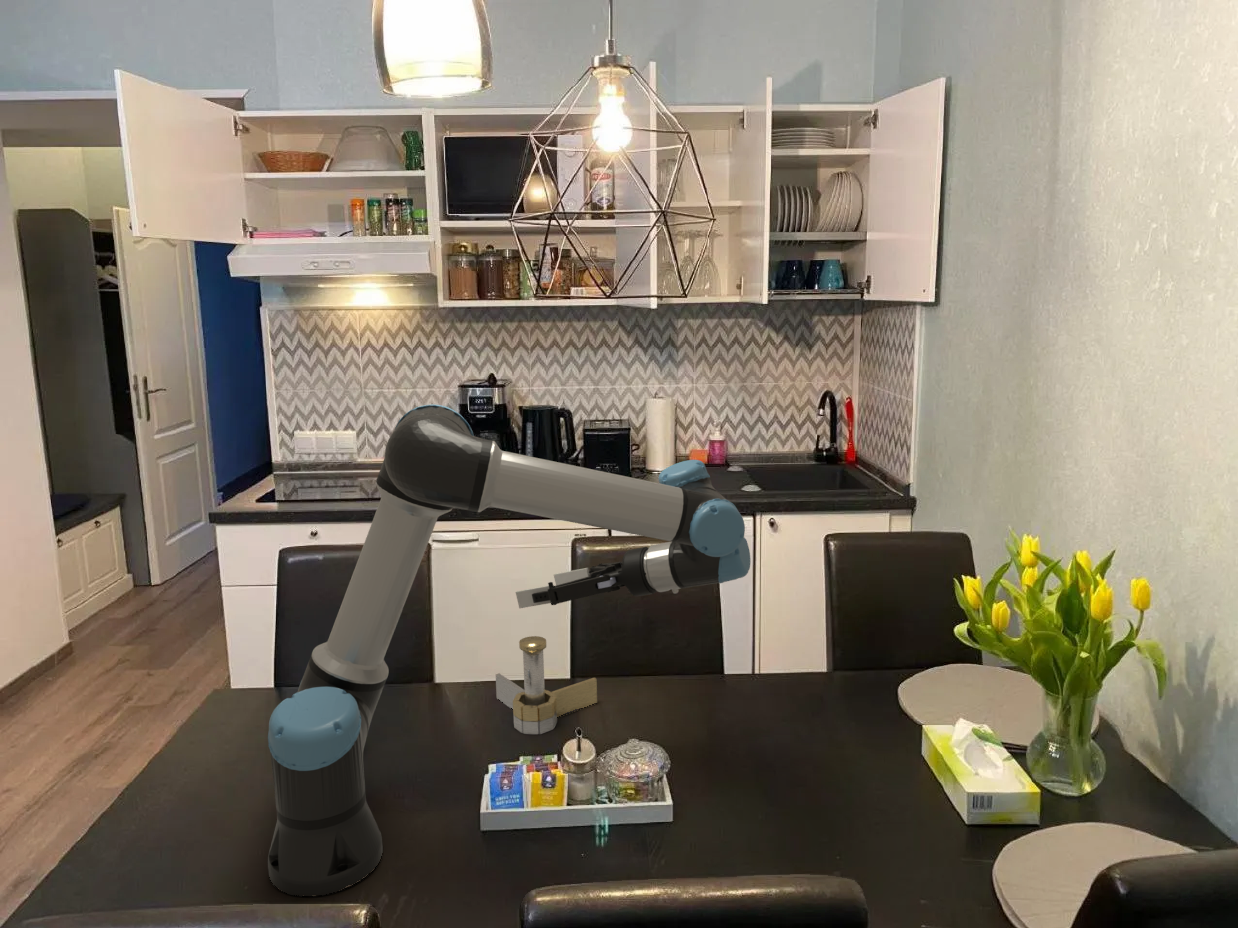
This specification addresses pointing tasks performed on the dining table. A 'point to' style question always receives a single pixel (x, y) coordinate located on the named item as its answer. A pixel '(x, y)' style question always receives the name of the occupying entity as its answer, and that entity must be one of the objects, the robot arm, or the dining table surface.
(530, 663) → the hinge pin
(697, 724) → the dining table surface
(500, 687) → the ring holder
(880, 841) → the dining table surface
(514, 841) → the dining table surface
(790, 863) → the dining table surface
